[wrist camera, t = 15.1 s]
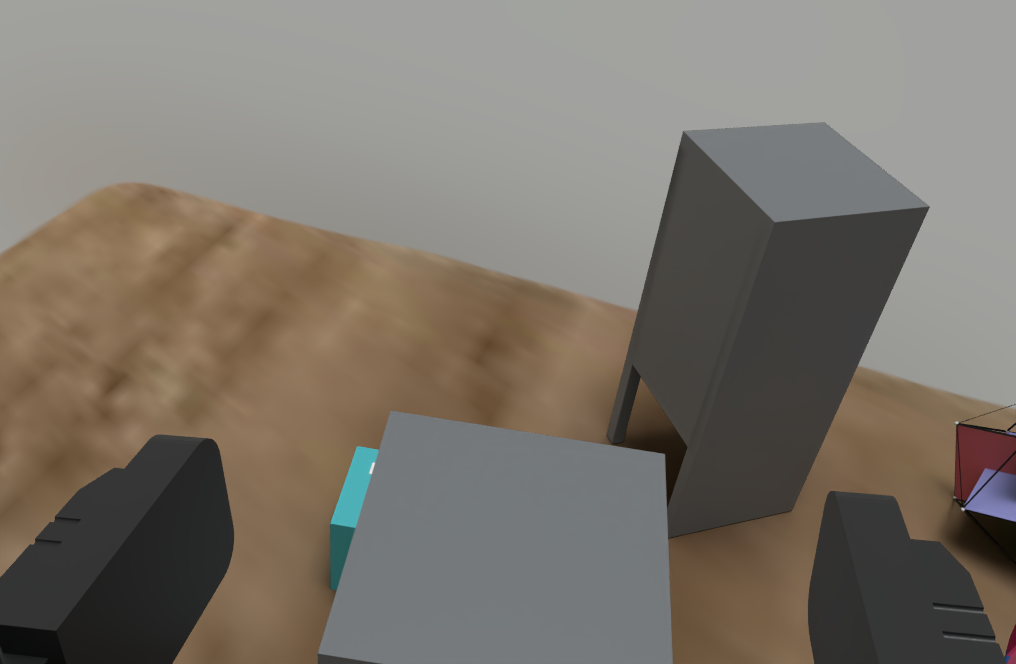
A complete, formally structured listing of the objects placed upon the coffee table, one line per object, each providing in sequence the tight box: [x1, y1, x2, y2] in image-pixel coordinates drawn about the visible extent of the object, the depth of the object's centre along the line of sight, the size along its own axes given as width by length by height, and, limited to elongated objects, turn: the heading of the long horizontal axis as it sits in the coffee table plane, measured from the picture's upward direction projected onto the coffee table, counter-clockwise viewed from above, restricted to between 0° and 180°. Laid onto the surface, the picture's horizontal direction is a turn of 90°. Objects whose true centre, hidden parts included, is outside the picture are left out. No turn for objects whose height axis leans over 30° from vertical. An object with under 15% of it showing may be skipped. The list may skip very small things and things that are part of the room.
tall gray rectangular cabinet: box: [607, 122, 929, 538], centre depth 39 cm, size 6×6×16 cm
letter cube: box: [330, 446, 379, 590], centre depth 37 cm, size 4×4×4 cm
